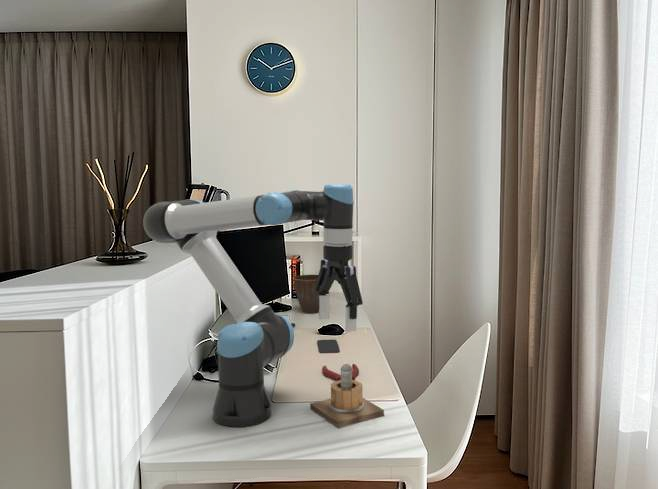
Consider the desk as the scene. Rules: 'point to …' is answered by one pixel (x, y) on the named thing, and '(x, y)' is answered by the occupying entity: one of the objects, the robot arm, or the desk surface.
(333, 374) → the pliers
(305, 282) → the plant pot
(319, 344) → the phone
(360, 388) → the light wood ring
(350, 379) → the bobbin stand
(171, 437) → the desk surface
